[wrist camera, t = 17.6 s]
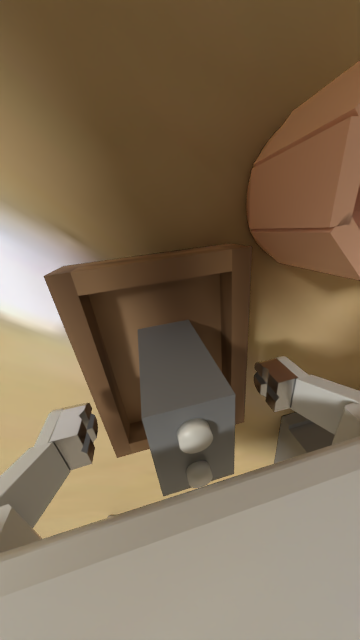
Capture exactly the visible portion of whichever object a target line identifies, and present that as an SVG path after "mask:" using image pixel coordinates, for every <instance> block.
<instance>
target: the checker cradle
mask: <svg viewBox="0 0 360 640" xmlns="http://www.w3.org/2000/svg"><path fill="white" fill-rule="evenodd" d="M334 436H335V435H334V434H332V433H331V432H329V431H327V430H326V429H324V428H322V427H321V426H319V425H317V424H315V423H314V422H312V421H310V420H309V419H307V418H305V417H304V416H302V415H300V414H298V413H297V412H296V413H292V414H289V415H285V416H282V419H281V425H280V431H279V437H278V443H277V449H276V455H275V461H274V464H275V463H278V462H281V461H284V460H287V459H290V458H293V457H297V456H300V455H303V454H306V453H309V452H312V451H315V450H318V449H321V448H324V447H327V446H330V445H332V441H333V439H334Z"/></svg>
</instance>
